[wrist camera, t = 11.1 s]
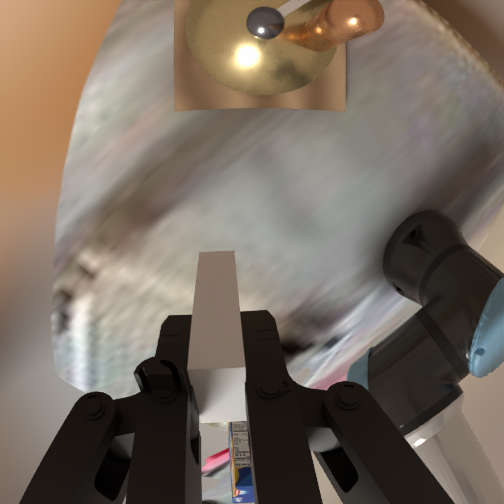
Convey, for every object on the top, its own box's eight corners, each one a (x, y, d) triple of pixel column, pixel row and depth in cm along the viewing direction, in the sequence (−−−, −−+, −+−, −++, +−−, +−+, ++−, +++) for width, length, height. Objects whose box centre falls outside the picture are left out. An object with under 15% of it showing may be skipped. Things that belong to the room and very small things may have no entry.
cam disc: (217, -46, 22) (217, -105, 10) (351, 1, 26) (408, -33, 14) (166, 72, 29) (133, 55, 17) (307, 116, 33) (353, 125, 21)
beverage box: (264, 382, 56) (280, 483, 37) (258, 412, 61) (270, 501, 42) (228, 382, 56) (235, 486, 36) (227, 412, 60) (232, 503, 41)
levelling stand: (336, -25, 26) (350, -37, 22) (339, 111, 35) (355, 113, 31) (178, -31, 24) (173, -46, 20) (177, 111, 34) (171, 112, 29)
